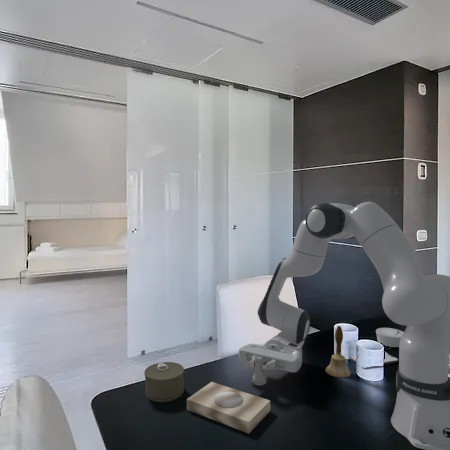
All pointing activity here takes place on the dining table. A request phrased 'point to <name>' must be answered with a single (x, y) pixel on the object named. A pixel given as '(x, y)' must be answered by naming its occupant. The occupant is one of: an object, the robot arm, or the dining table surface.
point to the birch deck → (229, 406)
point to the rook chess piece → (259, 371)
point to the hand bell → (338, 358)
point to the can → (164, 381)
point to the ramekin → (389, 336)
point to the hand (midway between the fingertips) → (258, 366)
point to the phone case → (387, 359)
